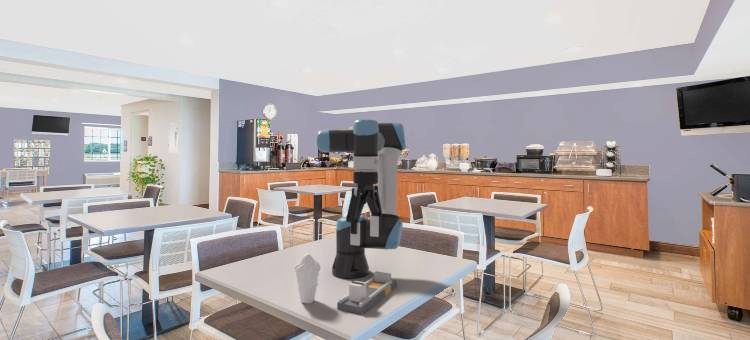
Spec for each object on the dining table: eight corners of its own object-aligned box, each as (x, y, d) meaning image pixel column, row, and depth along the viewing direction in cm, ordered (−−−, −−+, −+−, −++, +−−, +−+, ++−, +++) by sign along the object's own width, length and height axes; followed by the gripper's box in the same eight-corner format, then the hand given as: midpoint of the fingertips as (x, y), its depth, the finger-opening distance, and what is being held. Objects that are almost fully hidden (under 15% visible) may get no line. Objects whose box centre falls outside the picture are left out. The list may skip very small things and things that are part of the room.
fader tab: (348, 300, 114) (349, 283, 114) (355, 295, 118) (355, 279, 118) (360, 302, 112) (360, 285, 112) (366, 298, 116) (366, 281, 116)
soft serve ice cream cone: (296, 296, 123) (296, 249, 122) (321, 295, 123) (321, 249, 123) (292, 306, 114) (292, 256, 114) (319, 305, 115) (319, 255, 114)
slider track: (337, 308, 113) (337, 293, 112) (374, 282, 137) (374, 269, 137) (362, 314, 109) (363, 298, 109) (396, 286, 133) (397, 272, 133)
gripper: (358, 172, 97) (357, 250, 98) (392, 170, 120) (391, 234, 121) (334, 171, 100) (333, 247, 101) (371, 170, 123) (371, 232, 124)
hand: (365, 240), depth 111 cm, fingers open, 13 cm apart
